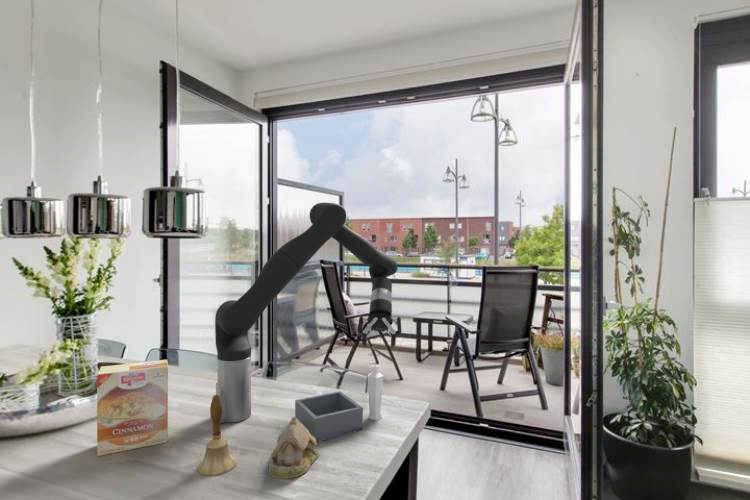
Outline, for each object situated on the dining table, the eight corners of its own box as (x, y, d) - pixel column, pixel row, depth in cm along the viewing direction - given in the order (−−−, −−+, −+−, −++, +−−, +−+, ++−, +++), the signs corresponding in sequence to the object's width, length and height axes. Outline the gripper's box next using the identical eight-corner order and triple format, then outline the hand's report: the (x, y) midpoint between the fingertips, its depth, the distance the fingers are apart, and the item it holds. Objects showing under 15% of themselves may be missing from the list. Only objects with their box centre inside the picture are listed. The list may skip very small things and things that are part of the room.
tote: (314, 442, 104) (314, 418, 104) (295, 421, 116) (295, 400, 116) (362, 429, 111) (362, 407, 111) (340, 411, 123) (340, 391, 123)
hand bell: (197, 479, 87) (197, 405, 87) (197, 460, 95) (197, 391, 95) (238, 471, 91) (238, 399, 90) (235, 453, 98) (235, 387, 98)
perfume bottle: (381, 421, 116) (381, 368, 116) (366, 420, 117) (366, 367, 117) (384, 414, 121) (384, 364, 120) (369, 413, 121) (370, 363, 121)
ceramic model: (276, 446, 102) (276, 406, 102) (321, 447, 102) (321, 406, 102) (261, 479, 88) (261, 433, 87) (313, 480, 88) (313, 433, 88)
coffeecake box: (96, 457, 96) (96, 374, 96) (100, 443, 102) (100, 365, 102) (168, 443, 103) (168, 365, 103) (167, 431, 109) (167, 358, 109)
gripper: (359, 297, 139) (355, 339, 127) (401, 298, 137) (401, 340, 126) (361, 310, 144) (357, 351, 133) (401, 311, 143) (401, 353, 132)
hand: (378, 346), depth 130 cm, fingers open, 8 cm apart
